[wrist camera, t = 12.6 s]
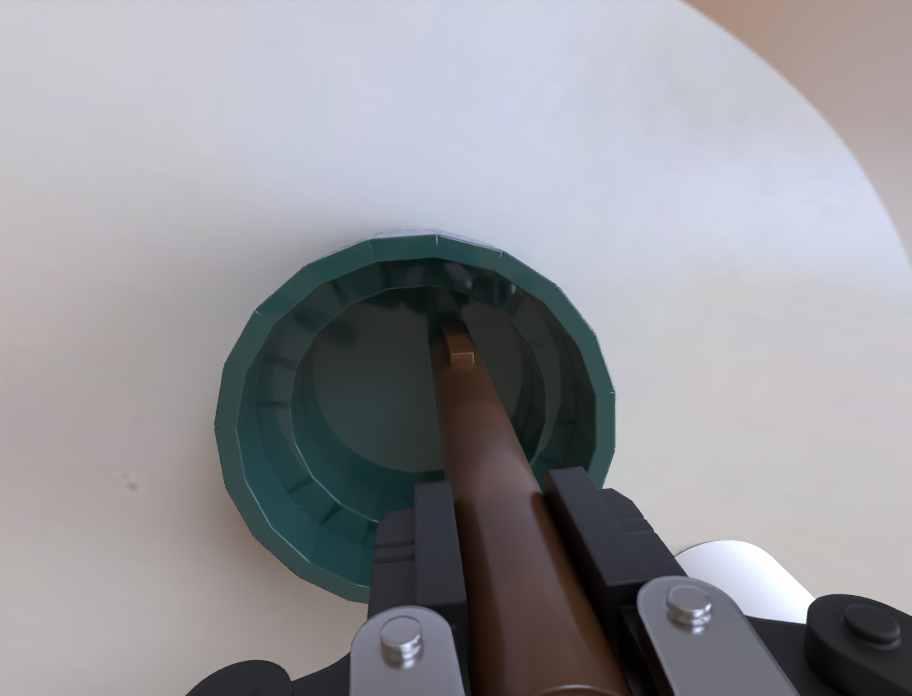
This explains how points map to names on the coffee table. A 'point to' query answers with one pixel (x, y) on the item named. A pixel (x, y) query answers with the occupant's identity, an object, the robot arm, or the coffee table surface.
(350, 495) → the bowl
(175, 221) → the coffee table surface
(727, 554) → the cup
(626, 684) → the stick
